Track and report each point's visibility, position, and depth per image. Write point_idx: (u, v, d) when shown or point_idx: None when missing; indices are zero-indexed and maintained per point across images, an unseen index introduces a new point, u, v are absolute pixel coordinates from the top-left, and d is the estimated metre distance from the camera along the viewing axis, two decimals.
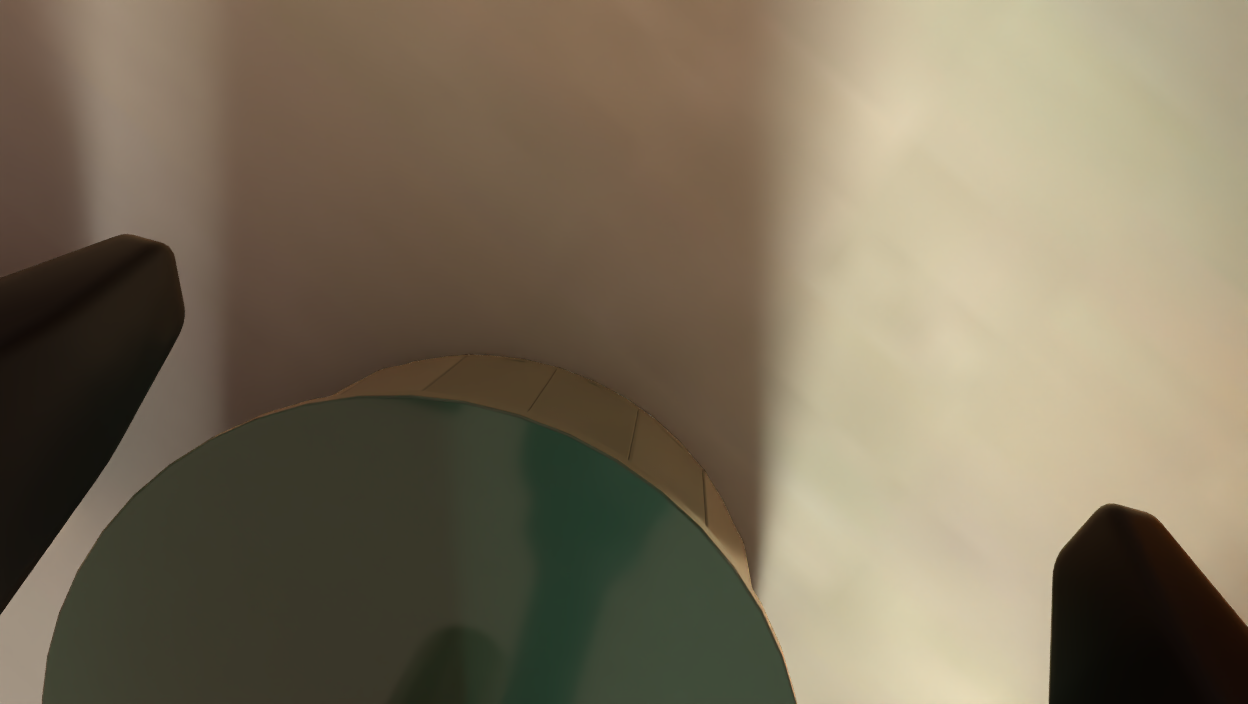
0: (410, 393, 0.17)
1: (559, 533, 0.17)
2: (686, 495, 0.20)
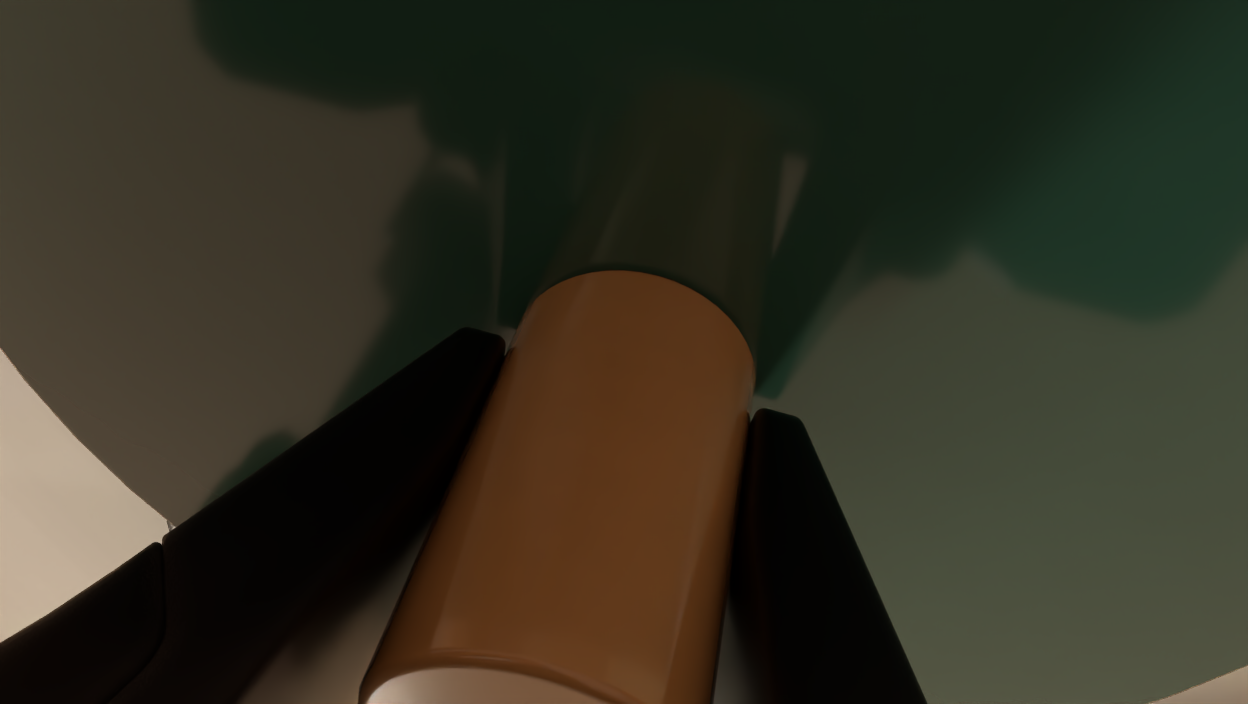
0: None
1: None
2: None
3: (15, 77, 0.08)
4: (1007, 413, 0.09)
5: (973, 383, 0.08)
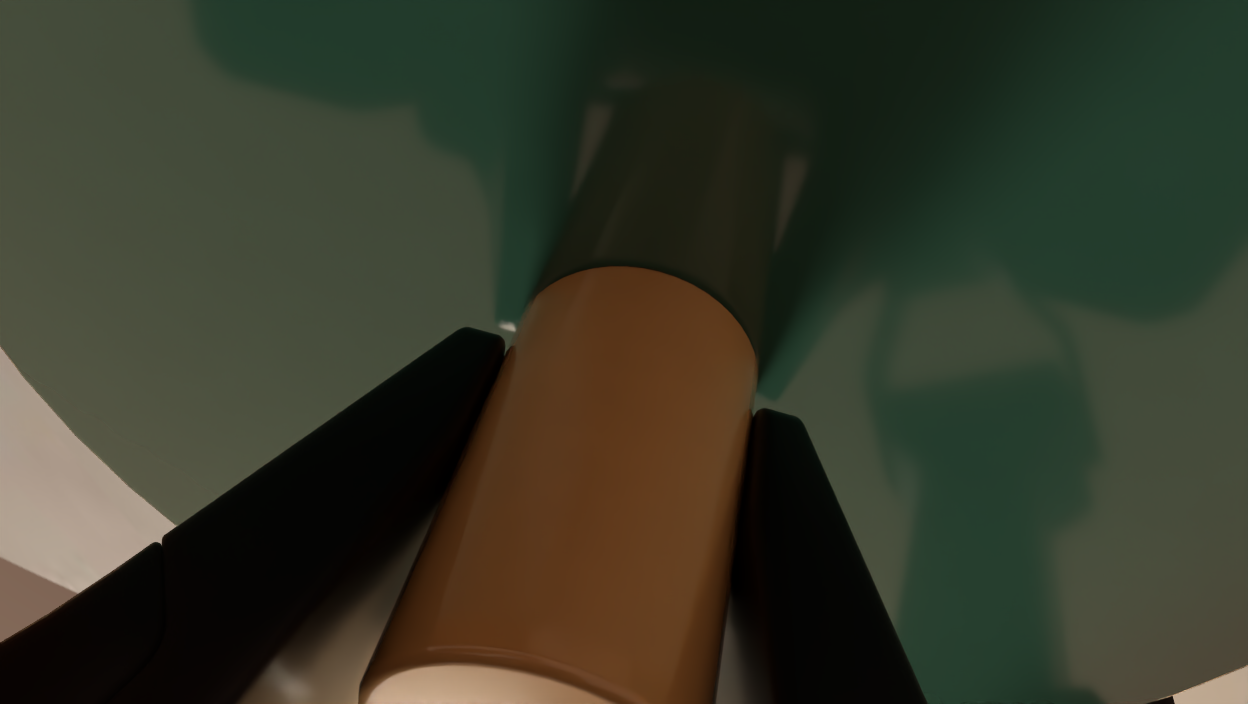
0: None
1: None
2: None
3: (13, 73, 0.08)
4: (1011, 410, 0.09)
5: (976, 379, 0.08)
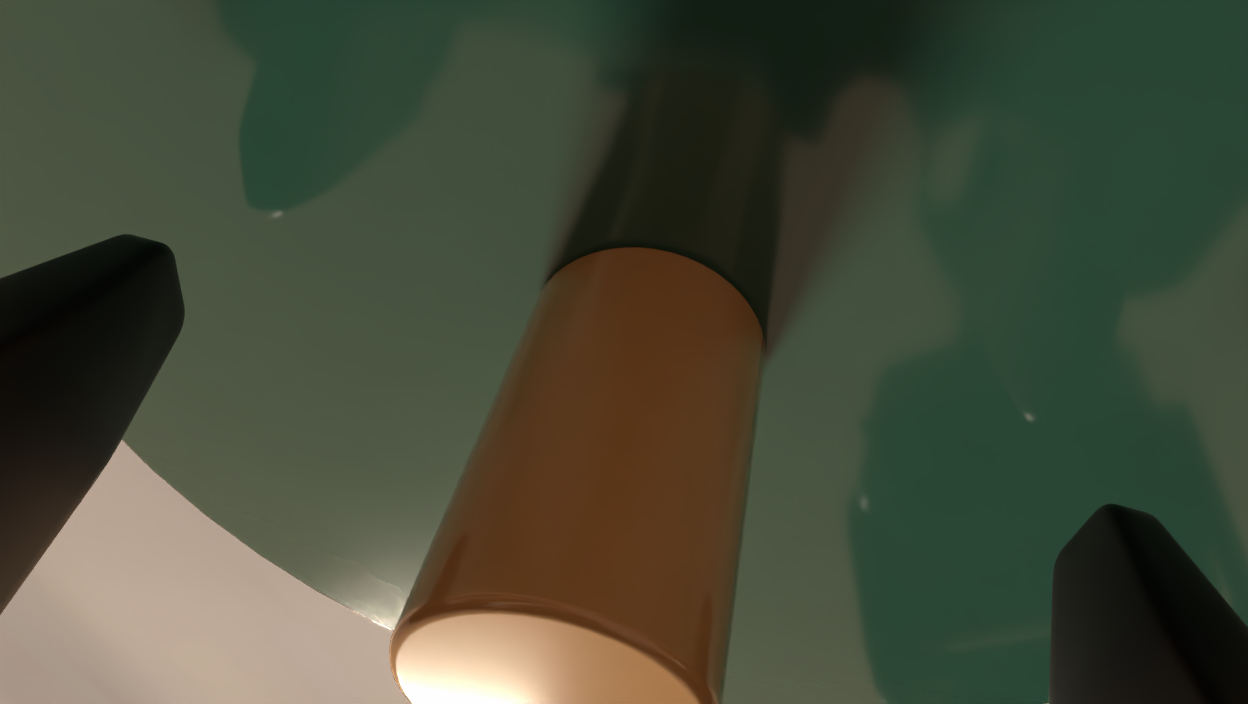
0: None
1: None
2: None
3: (52, 62, 0.09)
4: (1009, 386, 0.09)
5: (976, 356, 0.09)
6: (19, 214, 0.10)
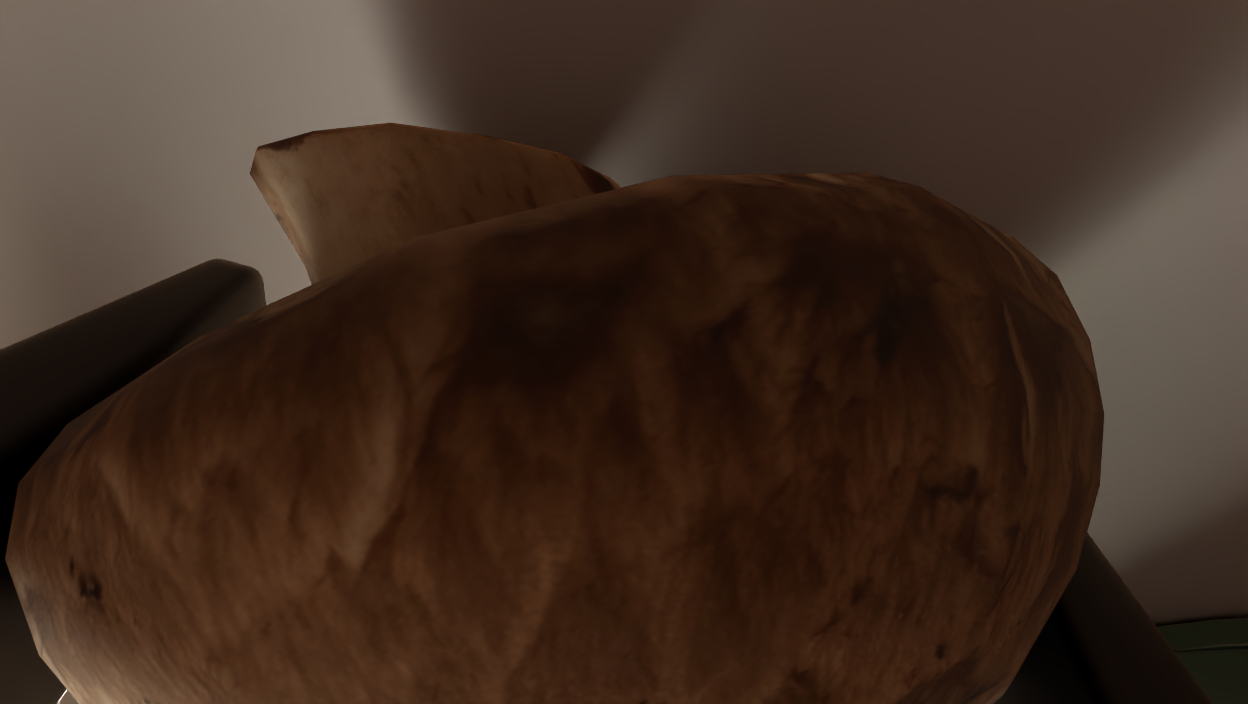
0: None
1: None
2: None
3: None
4: None
5: None
6: None
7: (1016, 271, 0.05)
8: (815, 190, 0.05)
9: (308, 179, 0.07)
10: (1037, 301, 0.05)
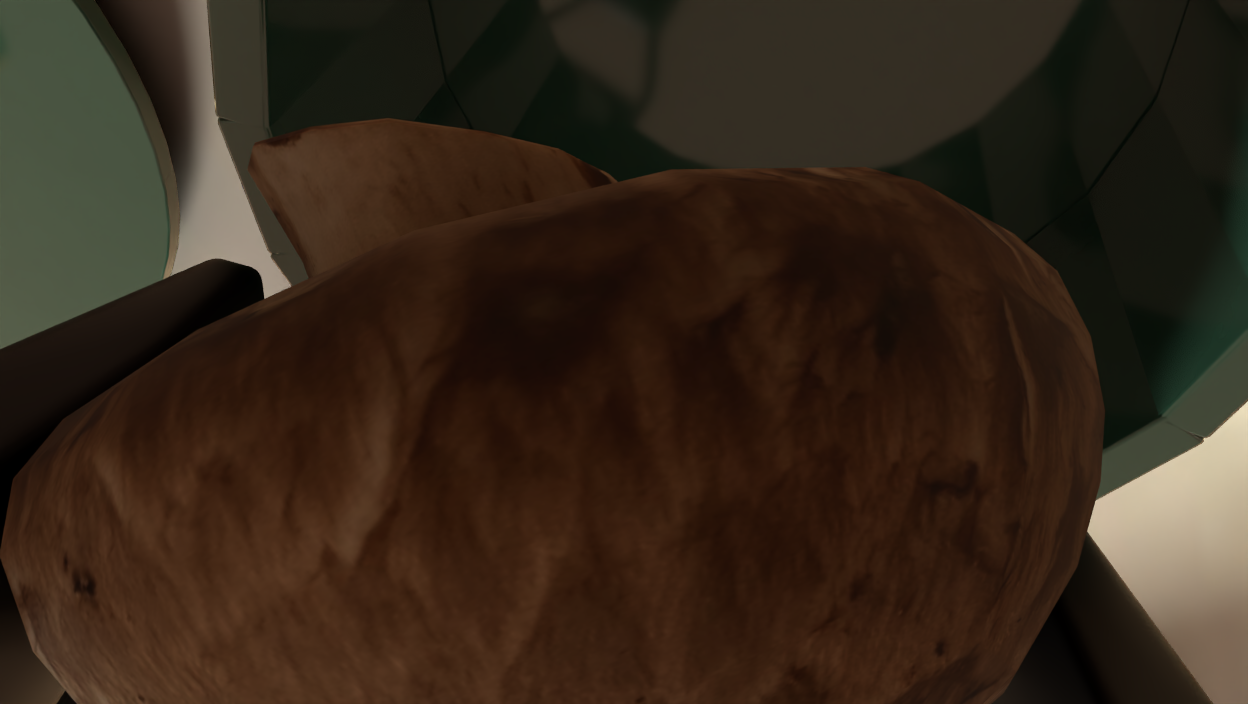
0: None
1: None
2: None
3: None
4: None
5: None
6: None
7: (1017, 266, 0.05)
8: (814, 184, 0.05)
9: (305, 174, 0.07)
10: (1039, 296, 0.05)
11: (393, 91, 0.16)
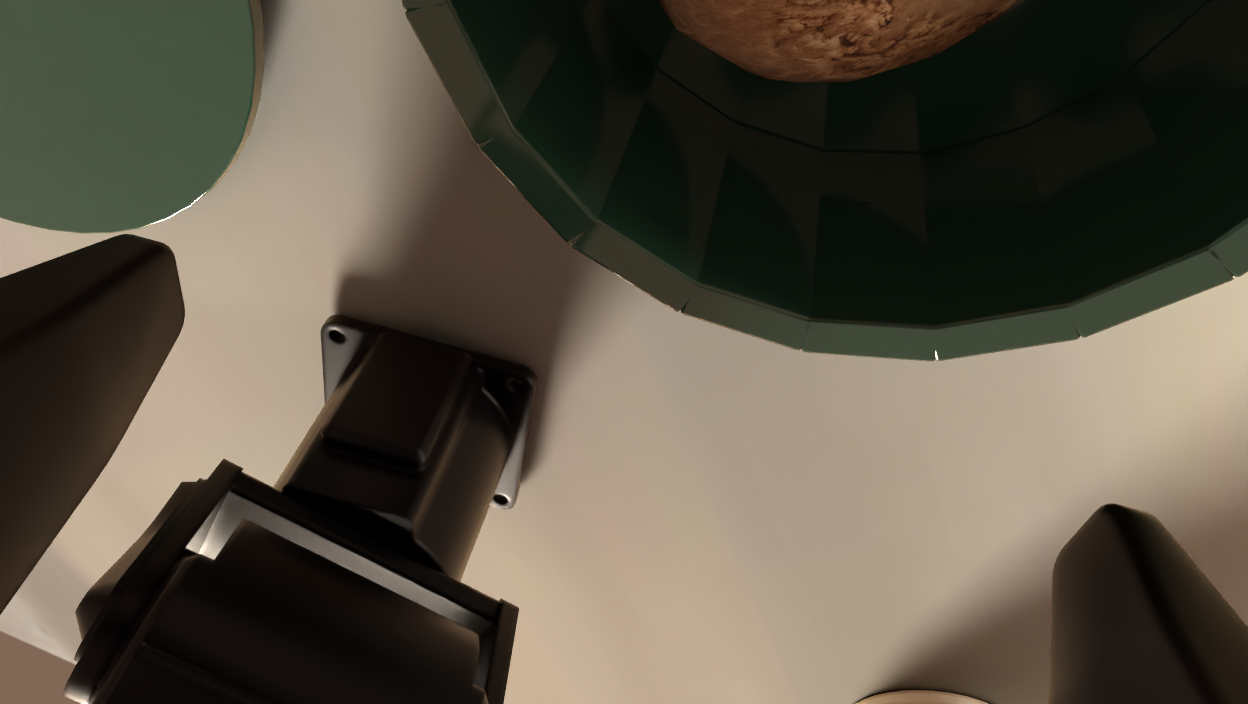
0: None
1: None
2: None
3: None
4: None
5: None
6: None
7: None
8: None
9: None
10: None
11: None
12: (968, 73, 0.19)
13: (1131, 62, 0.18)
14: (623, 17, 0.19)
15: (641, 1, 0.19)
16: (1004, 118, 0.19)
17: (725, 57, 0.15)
